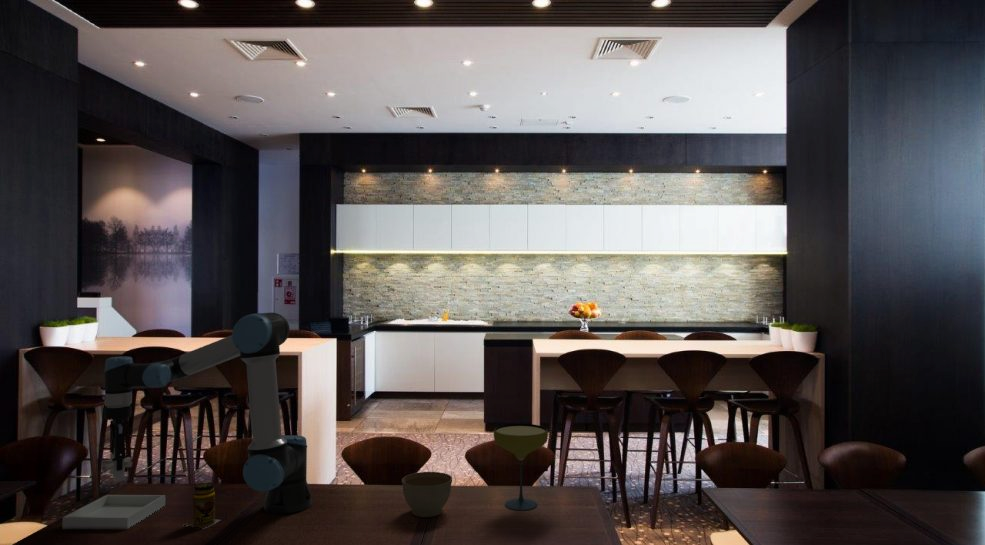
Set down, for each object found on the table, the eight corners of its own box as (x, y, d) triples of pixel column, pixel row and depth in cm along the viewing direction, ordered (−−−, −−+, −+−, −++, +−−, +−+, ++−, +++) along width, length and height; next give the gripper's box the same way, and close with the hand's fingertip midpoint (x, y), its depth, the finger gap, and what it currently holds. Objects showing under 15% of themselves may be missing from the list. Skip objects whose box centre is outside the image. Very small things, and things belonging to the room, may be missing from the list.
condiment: (204, 529, 181) (204, 489, 182) (181, 526, 184) (182, 486, 184) (221, 520, 188) (222, 481, 189) (200, 517, 191) (200, 479, 191)
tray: (165, 505, 202) (165, 495, 202) (127, 529, 182) (127, 517, 182) (106, 505, 202) (106, 494, 202) (62, 529, 182) (62, 517, 182)
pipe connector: (117, 485, 186) (117, 452, 187) (89, 483, 188) (90, 451, 189) (142, 475, 196) (142, 444, 196) (115, 474, 198) (116, 443, 198)
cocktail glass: (533, 518, 189) (533, 438, 189) (484, 508, 198) (483, 431, 198) (557, 501, 204) (556, 426, 205) (510, 492, 213) (509, 421, 214)
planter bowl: (462, 511, 195) (462, 477, 195) (424, 526, 183) (424, 490, 184) (429, 500, 206) (429, 468, 206) (391, 513, 194) (391, 478, 195)
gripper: (100, 402, 199) (99, 471, 198) (108, 412, 182) (106, 487, 182) (126, 399, 204) (125, 467, 203) (136, 409, 187) (135, 483, 186)
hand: (116, 476), depth 192 cm, fingers closed on pipe connector, 9 cm apart
